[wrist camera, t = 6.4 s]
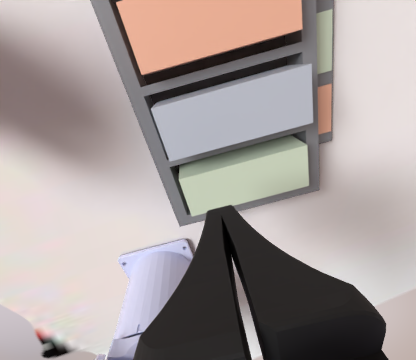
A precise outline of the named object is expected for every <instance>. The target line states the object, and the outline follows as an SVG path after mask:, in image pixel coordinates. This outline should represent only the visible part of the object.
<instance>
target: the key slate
mask: <svg viewBox="0 0 416 360" xmlns="http://www.w3.org/2000/svg"><path fill="white" fill-rule="evenodd" d="M151 111H152V114H153V116H154V119H155V122H156V125H157V127H158V130H159V133H160V136H161V139H162V141H163V144H164V147H165V150H166V152H167V155H168V158H169V161H170V162H171V161H174V160H178V159H182V158H185V157H189V156H193V155H196V154H200V153H204V152H207V151H211V150H215V149H218V148H222V147H226V146H229V145H233V144H237V143H240V142H244V141H248V140H251V139H255V138H259V137H263V136H266V135H270V134H274V133H277V132H281V131H285V130H288V129H292V128H296V127H299V126H303V125H307V124H310V123H313V97H312V64H299V65H287V66H283V67H280V68H276V69H272V70H269V71H265V72H262V73H258V74H255V75H251V76H248V77H244V78H240V79H237V80H233V81H230V82H226V83H223V84H219V85H216V86H212V87H208V88H205V89H201V90H198V91H194V92H191V93H187V94H183V95H180V96H176V97H173V98H169V99H166V100H162V101H159V102H157V103H156V104H155V105H154V106H153V107H152V108H151Z"/></svg>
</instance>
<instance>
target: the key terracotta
mask: <svg viewBox="0 0 416 360" xmlns="http://www.w3.org/2000/svg"><path fill="white" fill-rule="evenodd" d="M116 4H117V7H118V10H119V13H120V15H121V18H122V21H123V24H124V27H125V29H126V32H127V35H128V38H129V41H130V44H131V46H132V49H133V52H134V55H135V58H136V61H137V63H138V66H139V69H140V72H141V75H148V74H153V73H156V72H160V71H163V70H167V69H170V68H174V67H177V66H181V65H185V64H188V63H192V62H195V61H199V60H202V59H206V58H209V57H213V56H216V55H220V54H223V53H227V52H230V51H234V50H237V49H241V48H244V47H248V46H251V45H255V44H258V43H262V42H265V41H269V40H272V39H276V38H279V37H282V36H285V35H288V34H290V33H293V32H296V31H299V30H301V29H303V27H302V3H301V0H122V1H119V2H116Z"/></svg>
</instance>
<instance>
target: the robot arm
mask: <svg viewBox="0 0 416 360" xmlns="http://www.w3.org/2000/svg"><path fill="white" fill-rule="evenodd" d="M184 247H186V248H184ZM231 255H232V256H231ZM232 258H233V261H234V264H235V267H236V269H237V272H238V275H239V278H240V280H241V283H242V286H243V289H244V291H245V294H246V297H247V300H248V304H249V307H250V311H251V315H252V318H253V322H254V326H255V330H256V333H257V337H258V341H259V344H260V348H261V352H262V356H263V359H264V360H388V358H387V357H386V356H385V354H384V353H383V351H382V350H381V349H382V345H383V341H384V337H385V333H386V323H385V321H384V319H383V318H382V316H381V315H380V314H379V312H378V311H377V310H376V309H375V307H374V306H373V305H372V304H371V303H370V302H369V301H368V300H367V299H366V298H365V297H364V296H363V295H362V294H361V293H360V292H359V291H358V290H357V289H356V288H355V287H354V286H353V285H351V284H349V283H346V282H344V281H342V280H339V279H337V278H334V277H332V276H329V275H327V274H324V273H322V272H320V271H318V270H316V269H314V268H312V267H310V266H308V265H306V264H304V263H303V262H301V261H299V260H297V259H295V258H294V257H292V256H290V255H288V254H287V253H285V252H284V251H282V250H281V249H279V248H278V247H276V246H275V245H273V244H272V243H271V242H269V241H268V240H267V239H265V238H264V237H263V236H262V235H260V234H259V233H258V232H257V231H256V230H255V229H254V228H252V227H251V226H250V225H249V224H248V223H247V222H246V221H245V220H244V219H243V218H242V216H241V215H240V214H239V213H238V212H237V211H236V209H235V208H234V206H232V205H228V206H224V207H220V208H216V209H212V210H208V211H207V212H206V219H205V224H204V228H203V231H202V235H201V238H200V241H199V244H198V246H197V249H196V251H195V254H194V256H193V254H192V251H191V249H190V246H189V243H188V241H187V240H185V239H182V240H178V241H175V242H171V243H167V244H163V245H159V246H155V247H152V248H148V249H144V250H140V251H136V252H132V253H129V254H125V255H121V256H119V258H118V262H119V264H120V265H121V267H122V269H123V270H124V272H125V273H126V275H127V277H128V278H129V283H128V286H127V290H126V294H125V298H124V301H123V305H122V309H121V312H120V316H119V320H118V323H117V327H116V331H115V335H114V338H113V340H112V343H111V346H110V350H109V353H108V356H107V360H252V358H251V354H250V350H249V346H248V342H247V337H246V333H245V329H244V325H243V320H242V316H241V312H240V307H239V302H238V297H237V290H236V283H235V277H234V270H233V263H232ZM124 262H125V263H124ZM105 356H106V355H103V354H99V355H97V357H96V359H94V360H104V359H105Z"/></svg>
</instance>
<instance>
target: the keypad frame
mask: <svg viewBox="0 0 416 360" xmlns="http://www.w3.org/2000/svg"><path fill="white" fill-rule="evenodd" d="M90 1H91V3H92V6H93V8H94V11H95V14H96V16H97V19H98V21H99V24H100V26H101V29H102V31H103V34H104V36H105V39H106V41H107V44H108V46H109V49H110V51H111V54H112V56H113V59H114V62H115V64H116V67H117V69H118V72H119V74H120V77H121V79H122V82H123V84H124V87H125V89H126V92H127V94H128V97H129V99H130V102H131V104H132V107H133V109H134V112H135V115H136V117H137V120H138V122H139V125H140V127H141V130H142V132H143V135H144V137H145V140H146V142H147V145H148V147H149V150H150V152H151V155H152V157H153V160H154V163H155V165H156V168H157V170H158V173H159V175H160V178H161V180H162V183H163V185H164V188H165V190H166V193H167V195H168V198H169V200H170V203H171V205H172V208H173V211H174V213H175V216H176V218H177V221H178V223H179V226H180V227H181V226H184V225H188V224H192V223H196V222H200V221H203V220H205V219H206V213H204V214H200V215H196V216H193V217H192V216H191V213H190V210H189V207H188V205H187V202H186V199H185V196H184V193H183V190H182V188H181V185H180V182H179V176H178V173H177V170H176V168H175V165H179V164H183V163H187V162H190V161H194V160H198V159H201V158H205V157H209V156H212V155H216V154H220V153H223V152H227V151H231V150H234V149H238V148H242V147H245V146H249V145H253V144H257V143H260V142H264V141H268V140H271V139H275V138H279V137H282V136H286V135H290V134H292V136H293V137H295V138H297V139H298V140H300V141H302V142H303V143H305V144H307V148H308V172H309V186H306V187H303V188H299V189H295V190H291V191H287V192H284V193H280V194H276V195H272V196H268V197H265V198H261V199H257V200H253V201H249V202H246V203H242V204H238V205H234V208H235V209H236V211H237V212H238V211H241V210H245V209H249V208H253V207H257V206H261V205H264V204H268V203H272V202H276V201H280V200H283V199H287V198H291V197H295V196H299V195H302V194H306V193H310V192H314V191H318V190H319V140H318V80H317V20H316V0H301V3H302V27H303V29H301V30H299V31H296V32H293V33H290V34H288V35H285V40H286V46H283V47H280V48H276V49H273V50H269V51H266V52H262V53H259V54H255V55H252V56H248V57H245V58H241V59H238V60H234V61H231V62H227V63H224V64H220V65H216V66H213V67H209V68H206V69H202V70H199V71H195V72H192V73H188V74H185V75H181V76H178V77H174V78H171V79H167V80H164V81H160V82H157V83H153V84H149V85H146V82H145V79H144V77H143V75H141V72H140V69H139V66H138V63H137V61H136V58H135V55H134V52H133V49H132V46H131V44H130V41H129V38H128V35H127V32H126V29H125V27H124V24H123V21H122V18H121V15H120V13H119V10H118V7H117V4H116V2H119V1H122V0H90ZM286 56H287V65H299V64H312V97H313V123H310V124H307V125H303V126H299V127H296V128H292V129H288V130H285V131H281V132H277V133H274V134H270V135H266V136H263V137H259V138H255V139H251V140H248V141H244V142H240V143H237V144H233V145H229V146H226V147H222V148H218V149H215V150H211V151H207V152H204V153H200V154H196V155H193V156H189V157H185V158H182V159H178V160H174V161H171V162H170V161H169V158H168V155H167V152H166V150H165V147H164V144H163V141H162V139H161V136H160V133H159V130H158V127H157V125H156V122H155V119H154V116H153V114H152V111H151V108H152V107H153V106H154V105H153V102H152V99H151V97H150V95H151V94H155V93H158V92H162V91H165V90H169V89H172V88H176V87H179V86H183V85H186V84H190V83H194V82H197V81H201V80H204V79H208V78H211V77H215V76H218V75H222V74H225V73H229V72H233V71H236V70H240V69H243V68H247V67H250V66H254V65H257V64H261V63H264V62H268V61H272V60H275V59H279V58H282V57H286Z"/></svg>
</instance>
